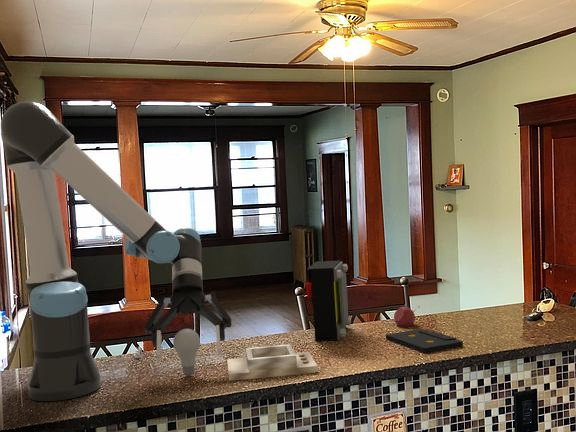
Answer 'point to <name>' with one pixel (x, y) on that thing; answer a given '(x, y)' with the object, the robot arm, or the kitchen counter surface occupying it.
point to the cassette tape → (424, 340)
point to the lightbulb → (187, 349)
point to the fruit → (404, 317)
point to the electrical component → (328, 299)
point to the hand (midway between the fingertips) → (189, 355)
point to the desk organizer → (270, 363)
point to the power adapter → (138, 353)
